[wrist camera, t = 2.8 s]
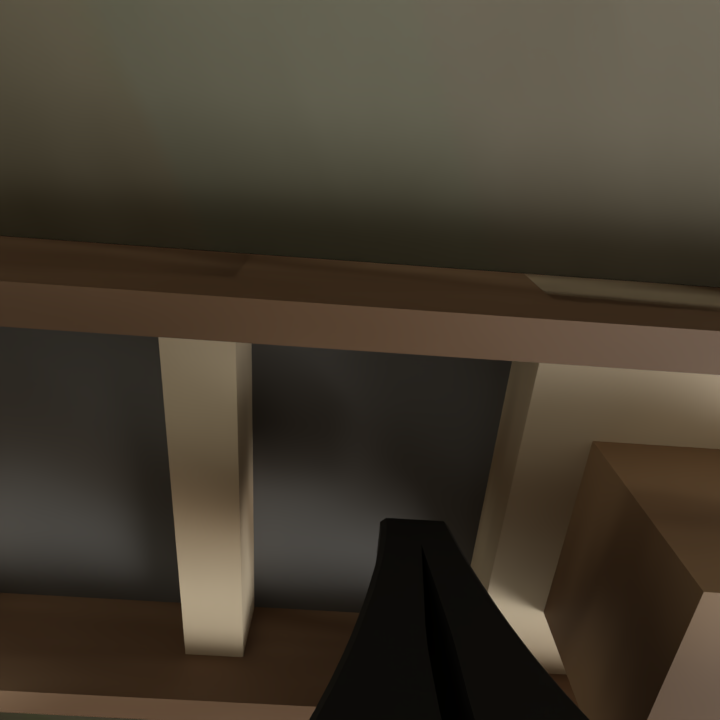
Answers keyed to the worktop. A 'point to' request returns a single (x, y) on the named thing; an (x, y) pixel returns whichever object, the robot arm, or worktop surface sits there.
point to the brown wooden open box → (295, 455)
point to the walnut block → (642, 584)
